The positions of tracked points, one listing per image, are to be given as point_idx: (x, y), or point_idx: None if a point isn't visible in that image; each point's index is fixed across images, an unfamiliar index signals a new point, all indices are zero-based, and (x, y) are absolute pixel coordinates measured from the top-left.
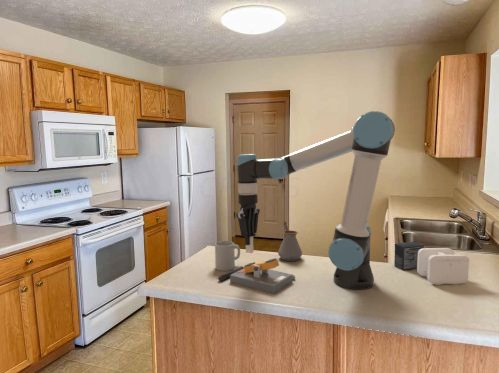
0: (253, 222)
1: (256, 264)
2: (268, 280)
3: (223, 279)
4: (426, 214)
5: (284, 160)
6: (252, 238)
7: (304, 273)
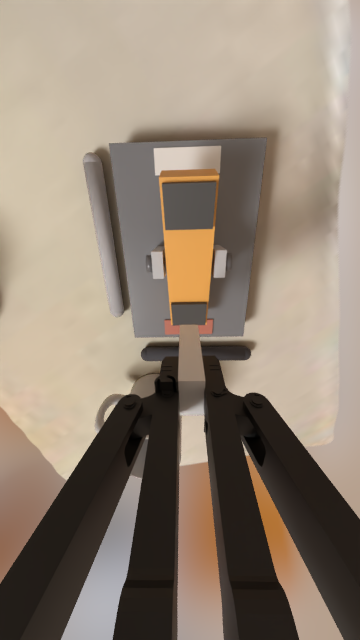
0: (148, 507)
1: (207, 275)
2: (223, 196)
3: (239, 346)
4: None
5: None
6: (185, 371)
7: (13, 160)
